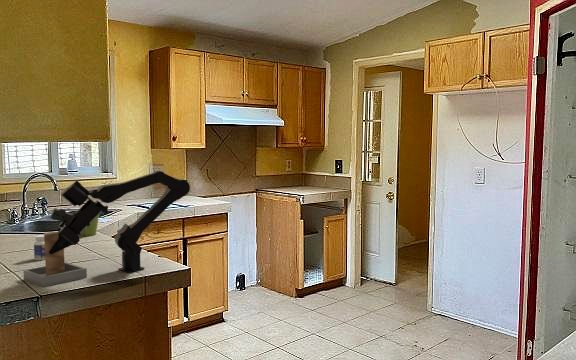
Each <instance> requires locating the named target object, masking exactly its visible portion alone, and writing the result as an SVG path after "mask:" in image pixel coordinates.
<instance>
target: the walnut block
mask: <svg viewBox="0 0 576 360" xmlns="http://www.w3.org/2000/svg"><path fill="white" fill-rule="evenodd" d="M43 235H44V241H45V260H44V261H45V262H44V263H45V266H46V276H48V275H54V274H59V273H64V272H65V248H64V249H62V250H60V251H58V252H56V253H53V254H50V253H49V251H50V249H51V248H52V247H53V245H54V244H55V242H56V241H57V239H58V231H48V232H44V233H43Z"/></svg>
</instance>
